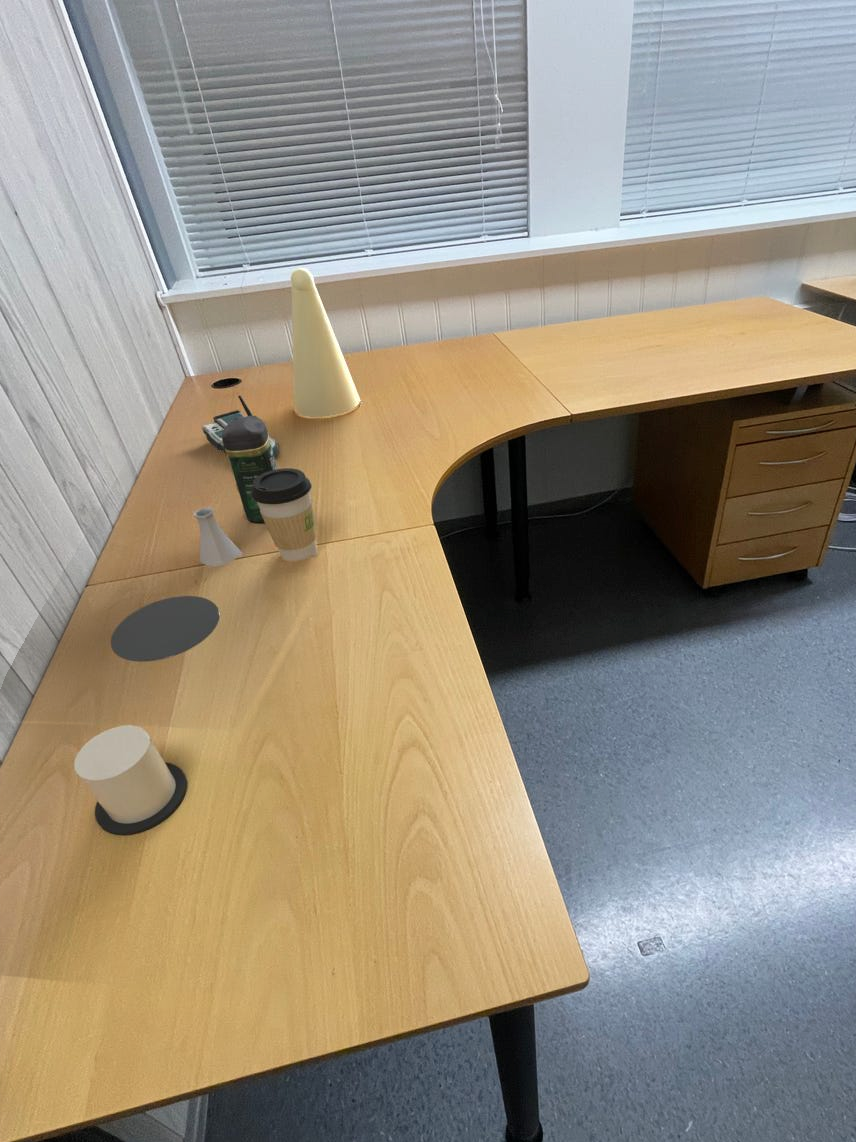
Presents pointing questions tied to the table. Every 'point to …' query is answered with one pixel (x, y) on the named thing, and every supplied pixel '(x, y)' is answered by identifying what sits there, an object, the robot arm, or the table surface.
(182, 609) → the plate
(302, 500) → the coffee cup
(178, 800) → the coaster
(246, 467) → the coffee jar
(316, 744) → the table surface
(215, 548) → the flask
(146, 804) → the white cylinder
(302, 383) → the cone light
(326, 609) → the table surface
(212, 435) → the communication device
